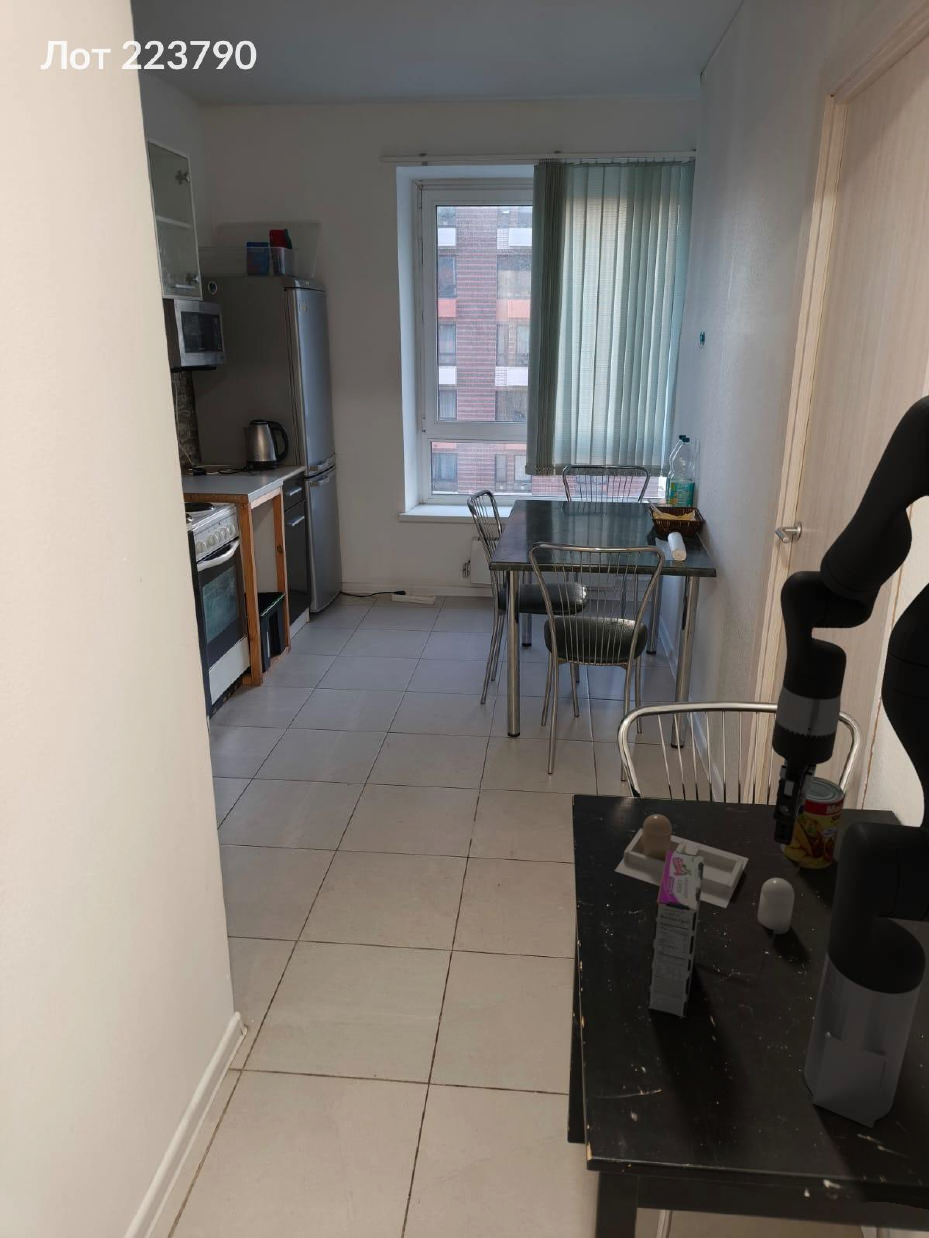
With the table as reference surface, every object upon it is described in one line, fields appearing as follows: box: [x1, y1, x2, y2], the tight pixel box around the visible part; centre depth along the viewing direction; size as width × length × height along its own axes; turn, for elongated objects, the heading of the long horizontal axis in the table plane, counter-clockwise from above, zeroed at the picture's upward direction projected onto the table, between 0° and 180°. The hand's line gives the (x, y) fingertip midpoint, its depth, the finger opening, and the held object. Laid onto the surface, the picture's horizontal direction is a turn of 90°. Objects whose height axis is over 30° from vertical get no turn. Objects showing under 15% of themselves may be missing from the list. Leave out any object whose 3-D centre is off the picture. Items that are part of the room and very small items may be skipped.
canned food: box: [780, 776, 845, 870], centre depth 136 cm, size 8×8×12 cm
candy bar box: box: [647, 850, 704, 1018], centre depth 108 cm, size 11×5×16 cm, turn 161°
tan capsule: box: [641, 813, 673, 862], centre depth 135 cm, size 4×4×7 cm
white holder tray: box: [614, 827, 749, 909], centre depth 134 cm, size 14×17×2 cm
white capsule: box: [757, 877, 796, 935], centre depth 121 cm, size 4×4×7 cm
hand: (788, 826), depth 117 cm, fingers open, 8 cm apart
